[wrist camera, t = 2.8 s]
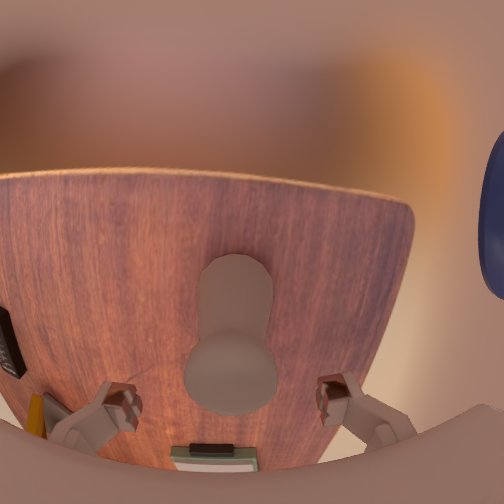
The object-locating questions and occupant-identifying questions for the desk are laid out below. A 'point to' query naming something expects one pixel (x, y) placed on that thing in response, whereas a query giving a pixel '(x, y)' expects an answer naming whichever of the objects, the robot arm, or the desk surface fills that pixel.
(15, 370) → the multiport hub
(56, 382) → the desk surface
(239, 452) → the scale
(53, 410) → the toy computer monitor
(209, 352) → the salt shaker
